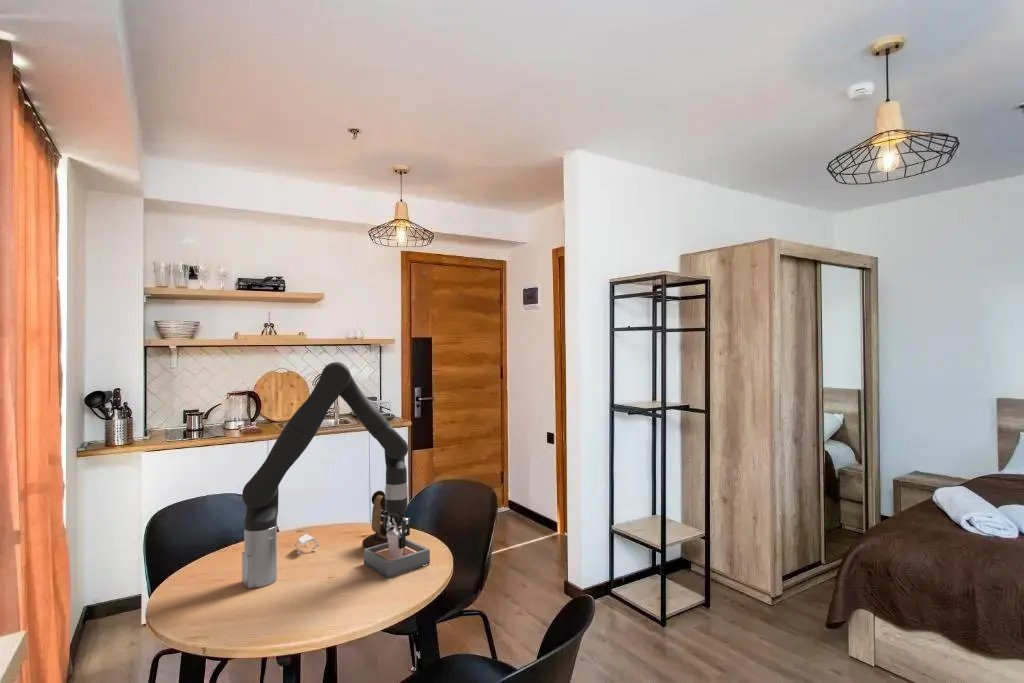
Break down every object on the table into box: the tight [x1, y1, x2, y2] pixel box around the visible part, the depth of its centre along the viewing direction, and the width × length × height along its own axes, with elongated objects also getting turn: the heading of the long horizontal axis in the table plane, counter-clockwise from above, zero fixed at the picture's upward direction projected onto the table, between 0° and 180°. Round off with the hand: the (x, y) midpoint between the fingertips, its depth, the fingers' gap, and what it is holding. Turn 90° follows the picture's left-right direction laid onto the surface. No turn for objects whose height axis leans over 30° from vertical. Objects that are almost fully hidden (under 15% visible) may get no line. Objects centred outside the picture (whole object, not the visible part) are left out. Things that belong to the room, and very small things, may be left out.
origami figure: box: [294, 533, 320, 558], centre depth 192 cm, size 12×8×5 cm
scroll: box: [361, 490, 388, 549], centre depth 195 cm, size 15×15×20 cm
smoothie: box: [387, 529, 403, 560], centre depth 179 cm, size 6×6×14 cm
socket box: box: [363, 537, 431, 579], centre depth 179 cm, size 16×16×5 cm
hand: (396, 545), depth 179 cm, fingers open, 6 cm apart
